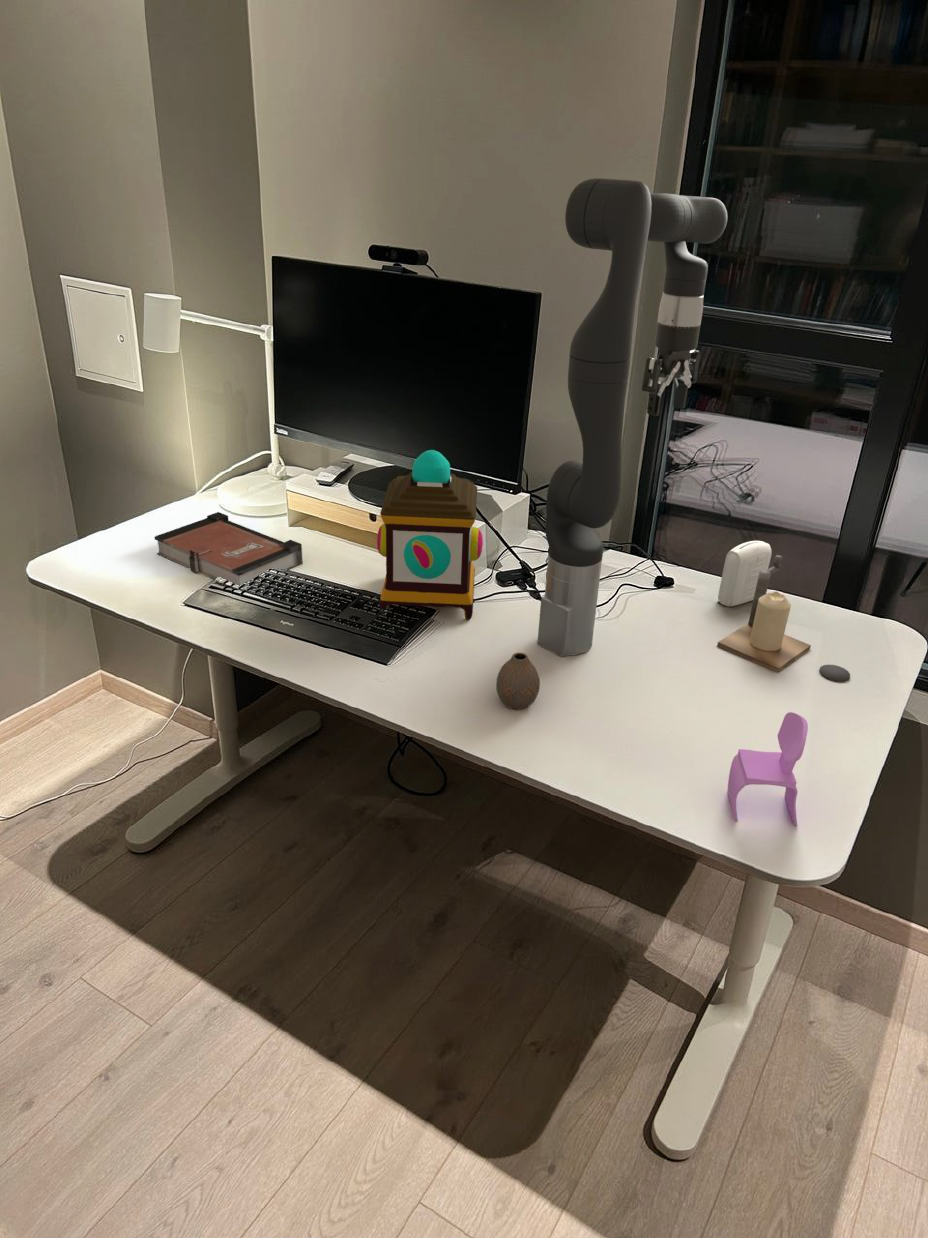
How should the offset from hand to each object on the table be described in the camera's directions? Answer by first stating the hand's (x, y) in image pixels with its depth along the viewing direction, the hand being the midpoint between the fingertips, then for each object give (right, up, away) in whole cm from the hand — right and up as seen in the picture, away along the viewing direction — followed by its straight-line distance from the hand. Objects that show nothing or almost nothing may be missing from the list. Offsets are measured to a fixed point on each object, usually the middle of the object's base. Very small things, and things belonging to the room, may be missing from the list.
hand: (666, 411), depth 166 cm
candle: (+17, -43, -4) cm, 47 cm away
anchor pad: (+27, -48, -11) cm, 56 cm away
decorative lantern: (-44, -35, +9) cm, 57 cm away
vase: (-29, -52, -22) cm, 64 cm away
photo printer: (+18, -35, +13) cm, 41 cm away
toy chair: (+3, -65, -43) cm, 78 cm away
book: (-87, -27, +21) cm, 93 cm away
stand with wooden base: (+18, -43, -2) cm, 47 cm away
